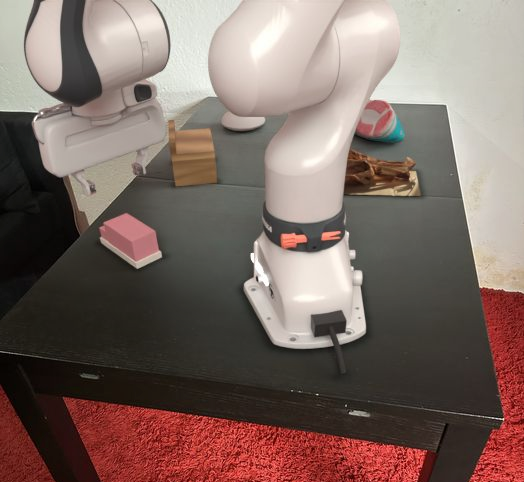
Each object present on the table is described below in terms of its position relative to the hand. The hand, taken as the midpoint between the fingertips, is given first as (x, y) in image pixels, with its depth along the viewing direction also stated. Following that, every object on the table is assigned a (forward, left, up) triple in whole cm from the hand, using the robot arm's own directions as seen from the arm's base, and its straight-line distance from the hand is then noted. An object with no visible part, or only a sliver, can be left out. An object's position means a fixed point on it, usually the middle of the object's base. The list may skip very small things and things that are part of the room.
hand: (115, 183), depth 86 cm
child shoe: (0, 0, -13) cm, 13 cm away
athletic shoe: (+45, -55, -13) cm, 72 cm away
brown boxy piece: (+31, -13, -13) cm, 36 cm away
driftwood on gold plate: (+19, -46, -13) cm, 51 cm away
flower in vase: (+56, -27, -13) cm, 64 cm away
